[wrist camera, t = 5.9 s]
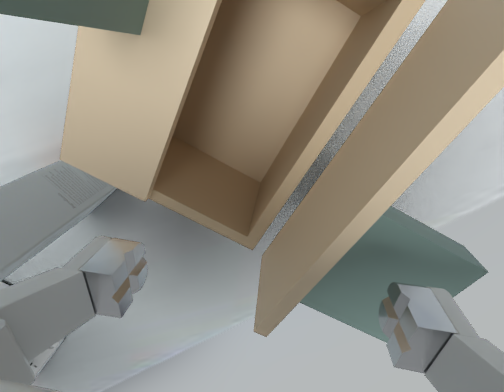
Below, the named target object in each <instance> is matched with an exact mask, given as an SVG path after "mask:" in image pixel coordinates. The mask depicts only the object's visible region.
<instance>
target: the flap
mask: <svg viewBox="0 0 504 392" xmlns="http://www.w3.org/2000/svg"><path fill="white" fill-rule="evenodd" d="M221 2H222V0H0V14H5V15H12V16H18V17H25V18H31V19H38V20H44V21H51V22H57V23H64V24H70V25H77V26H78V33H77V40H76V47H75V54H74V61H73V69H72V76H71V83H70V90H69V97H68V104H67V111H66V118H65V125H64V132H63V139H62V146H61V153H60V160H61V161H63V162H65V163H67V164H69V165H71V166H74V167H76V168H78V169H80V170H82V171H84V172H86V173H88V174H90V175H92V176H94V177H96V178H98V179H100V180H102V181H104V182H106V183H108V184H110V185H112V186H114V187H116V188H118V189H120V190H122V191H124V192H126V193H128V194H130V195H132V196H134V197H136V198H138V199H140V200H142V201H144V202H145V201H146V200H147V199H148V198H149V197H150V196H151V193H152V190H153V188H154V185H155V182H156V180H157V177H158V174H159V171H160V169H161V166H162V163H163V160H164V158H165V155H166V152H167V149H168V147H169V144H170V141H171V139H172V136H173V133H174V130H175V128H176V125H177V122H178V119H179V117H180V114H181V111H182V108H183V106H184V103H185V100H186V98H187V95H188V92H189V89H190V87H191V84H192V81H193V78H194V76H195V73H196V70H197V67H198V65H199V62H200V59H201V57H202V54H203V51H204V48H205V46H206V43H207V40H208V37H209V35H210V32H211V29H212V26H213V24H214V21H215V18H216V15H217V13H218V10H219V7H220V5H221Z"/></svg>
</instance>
